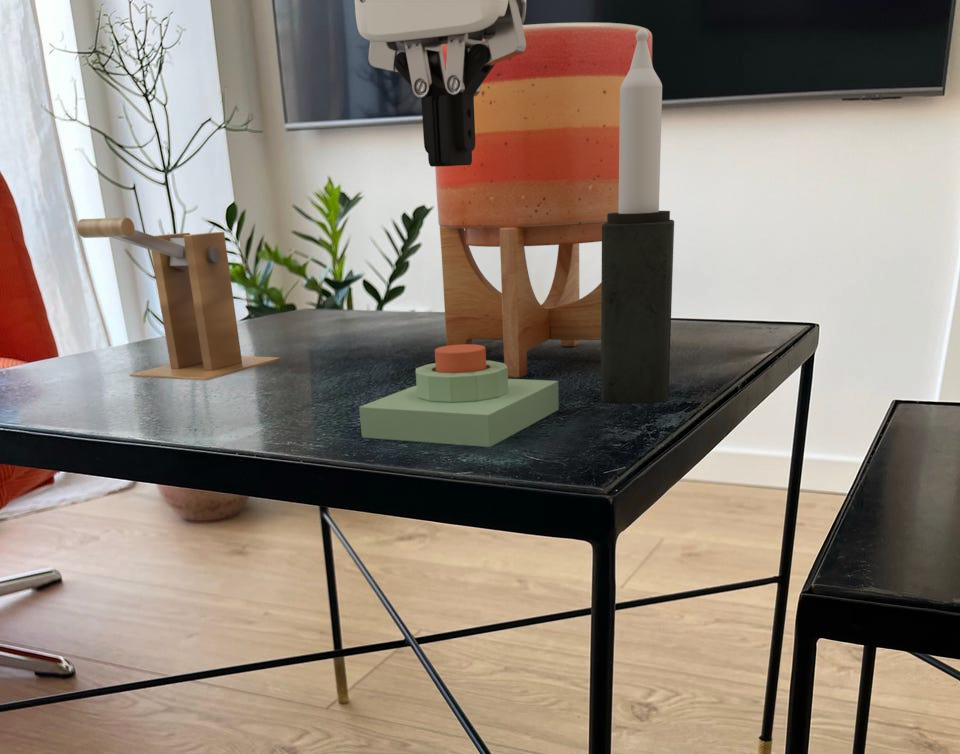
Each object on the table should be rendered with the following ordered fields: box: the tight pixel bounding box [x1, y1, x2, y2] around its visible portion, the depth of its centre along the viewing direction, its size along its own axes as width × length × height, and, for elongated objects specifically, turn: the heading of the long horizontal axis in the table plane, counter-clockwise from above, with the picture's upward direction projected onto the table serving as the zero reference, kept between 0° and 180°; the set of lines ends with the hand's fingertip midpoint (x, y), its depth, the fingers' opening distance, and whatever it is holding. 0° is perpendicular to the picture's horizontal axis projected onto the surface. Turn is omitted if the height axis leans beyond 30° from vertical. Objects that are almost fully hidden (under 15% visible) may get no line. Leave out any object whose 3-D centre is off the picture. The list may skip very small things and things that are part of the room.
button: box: [434, 343, 487, 373], centre depth 72 cm, size 4×4×2 cm
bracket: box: [129, 231, 281, 381], centre depth 94 cm, size 11×9×13 cm
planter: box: [434, 22, 653, 379], centre depth 92 cm, size 20×20×27 cm
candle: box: [600, 29, 675, 404], centre depth 75 cm, size 5×5×25 cm
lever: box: [76, 217, 189, 272], centre depth 88 cm, size 12×5×2 cm, turn 154°
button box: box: [358, 360, 560, 448], centre depth 73 cm, size 12×10×4 cm
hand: (450, 164), depth 67 cm, fingers closed
